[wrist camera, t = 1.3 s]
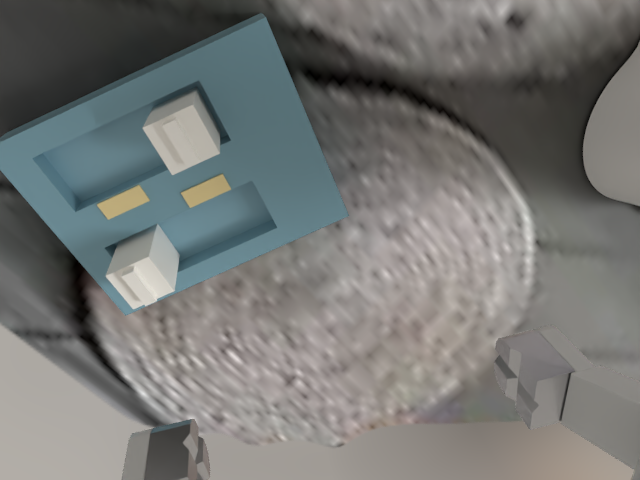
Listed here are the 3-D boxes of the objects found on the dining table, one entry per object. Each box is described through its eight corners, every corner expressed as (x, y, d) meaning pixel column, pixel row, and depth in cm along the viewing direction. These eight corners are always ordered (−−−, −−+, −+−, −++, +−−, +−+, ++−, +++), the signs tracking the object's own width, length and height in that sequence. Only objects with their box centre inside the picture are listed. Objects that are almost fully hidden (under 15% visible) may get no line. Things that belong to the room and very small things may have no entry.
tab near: (196, 86, 28) (192, 107, 24) (220, 130, 30) (220, 157, 26) (153, 107, 28) (140, 131, 24) (178, 149, 30) (171, 179, 26)
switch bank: (261, 12, 29) (266, 17, 26) (338, 195, 36) (349, 216, 33) (7, 132, 30) (-19, 151, 27) (133, 288, 37) (125, 316, 34)
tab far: (157, 222, 32) (147, 261, 28) (179, 255, 34) (173, 296, 30) (119, 240, 32) (103, 281, 28) (143, 271, 34) (131, 315, 30)
